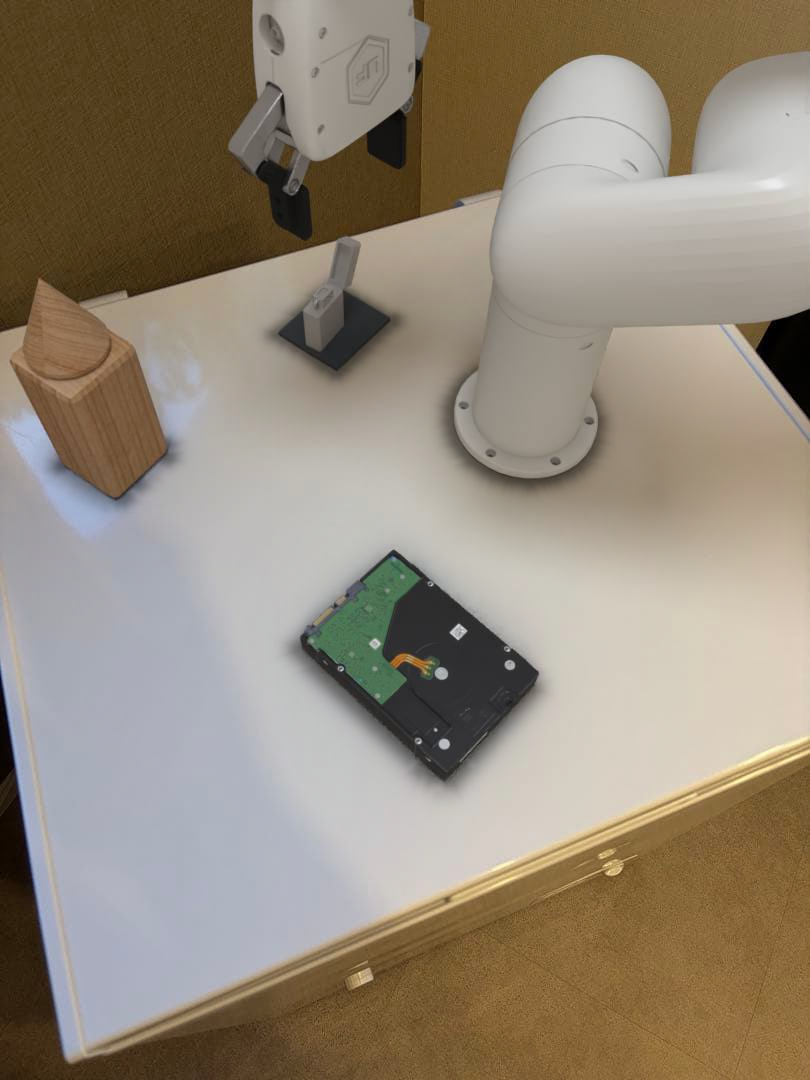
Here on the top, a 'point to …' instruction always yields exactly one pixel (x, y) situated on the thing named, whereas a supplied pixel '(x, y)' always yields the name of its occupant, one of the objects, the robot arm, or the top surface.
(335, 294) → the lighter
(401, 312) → the top surface
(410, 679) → the disk drive
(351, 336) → the mat
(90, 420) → the decorative item
